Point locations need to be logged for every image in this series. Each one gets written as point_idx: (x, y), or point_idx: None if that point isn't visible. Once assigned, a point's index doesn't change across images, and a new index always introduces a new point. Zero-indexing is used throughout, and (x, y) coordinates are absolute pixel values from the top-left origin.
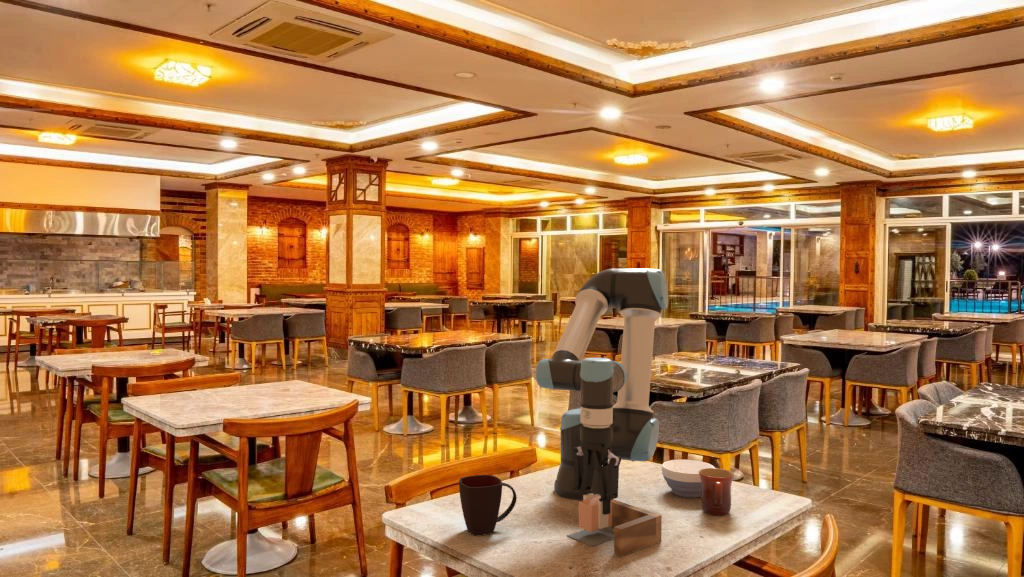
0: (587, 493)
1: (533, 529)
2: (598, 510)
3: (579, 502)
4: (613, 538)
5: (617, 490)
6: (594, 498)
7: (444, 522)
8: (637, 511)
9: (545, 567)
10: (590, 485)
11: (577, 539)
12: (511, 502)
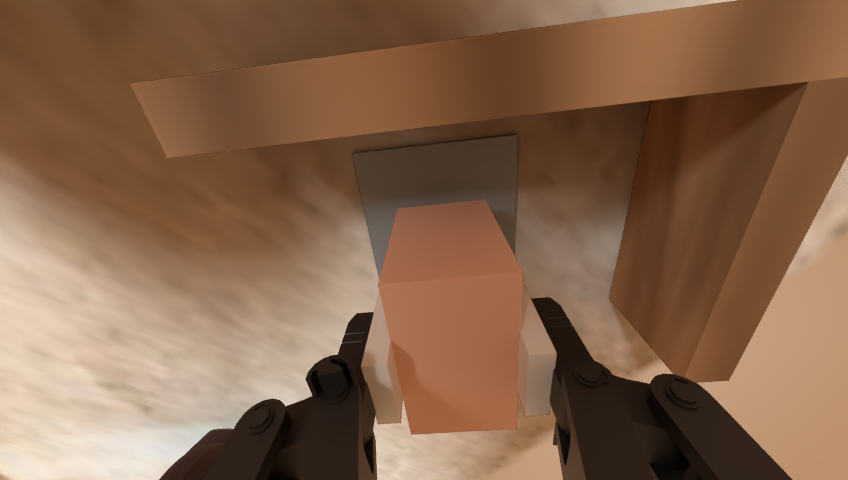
0: (370, 401)
1: (282, 361)
2: None
3: (414, 430)
4: (514, 209)
5: (767, 464)
6: (410, 346)
7: (152, 472)
8: (671, 97)
9: (523, 447)
10: (363, 455)
11: None
12: (172, 475)
